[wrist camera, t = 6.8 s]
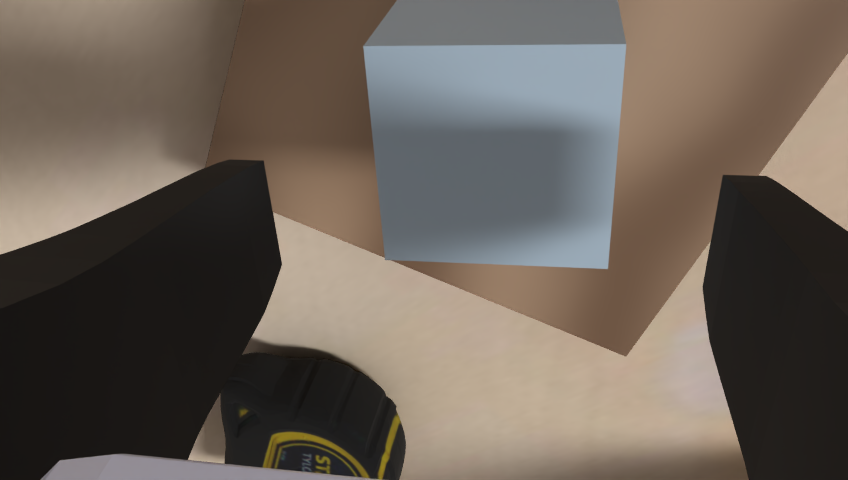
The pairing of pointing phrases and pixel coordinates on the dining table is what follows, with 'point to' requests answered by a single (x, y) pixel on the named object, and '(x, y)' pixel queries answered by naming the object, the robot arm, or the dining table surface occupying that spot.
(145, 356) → the robot arm
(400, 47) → the slate block
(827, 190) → the dining table surface
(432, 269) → the walnut base
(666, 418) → the dining table surface
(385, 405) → the tape measure
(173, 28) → the dining table surface
